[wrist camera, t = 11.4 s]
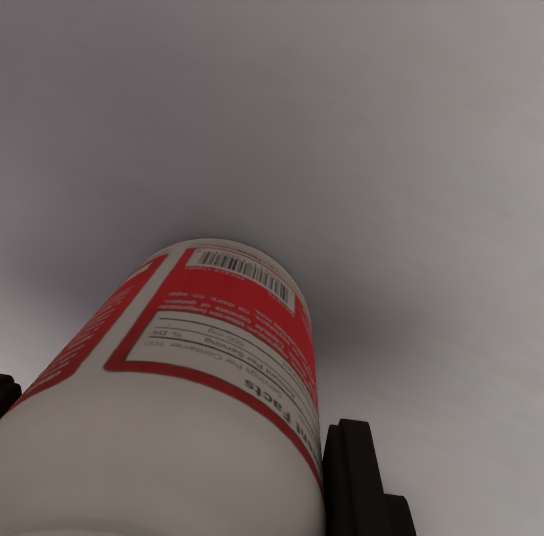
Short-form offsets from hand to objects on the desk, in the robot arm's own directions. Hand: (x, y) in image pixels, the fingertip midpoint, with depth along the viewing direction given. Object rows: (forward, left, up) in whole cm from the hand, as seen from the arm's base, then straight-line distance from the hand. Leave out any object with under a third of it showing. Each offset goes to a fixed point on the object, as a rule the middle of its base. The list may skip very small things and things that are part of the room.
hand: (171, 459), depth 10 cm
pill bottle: (0, 0, -6) cm, 6 cm away
